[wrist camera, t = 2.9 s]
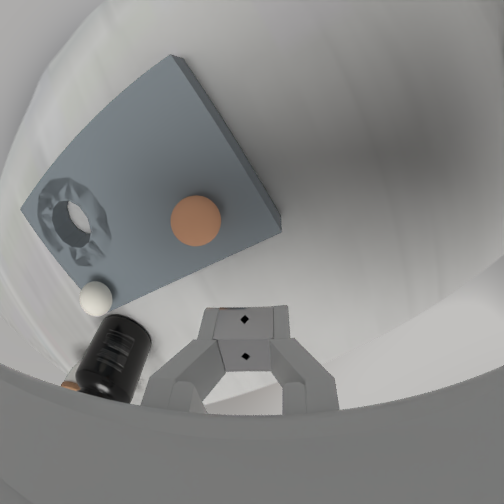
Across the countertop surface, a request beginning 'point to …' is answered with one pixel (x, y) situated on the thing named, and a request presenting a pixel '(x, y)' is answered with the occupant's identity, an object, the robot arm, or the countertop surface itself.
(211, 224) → the terracotta ball
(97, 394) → the supplement bottle
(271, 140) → the countertop surface
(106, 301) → the cream ball
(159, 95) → the plate
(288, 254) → the countertop surface
